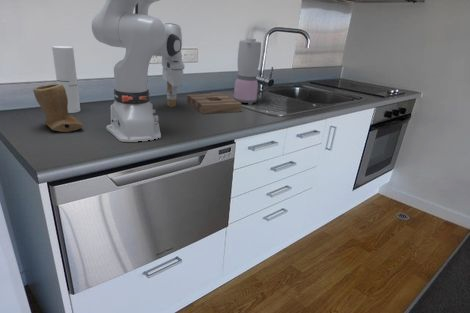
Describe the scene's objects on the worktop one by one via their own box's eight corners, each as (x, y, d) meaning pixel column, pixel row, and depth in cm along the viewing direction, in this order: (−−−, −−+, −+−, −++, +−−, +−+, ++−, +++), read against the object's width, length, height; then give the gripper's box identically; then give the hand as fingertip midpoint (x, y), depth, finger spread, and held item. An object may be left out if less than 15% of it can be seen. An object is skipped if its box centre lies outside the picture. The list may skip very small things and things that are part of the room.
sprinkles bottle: (167, 106, 148) (167, 77, 142) (166, 104, 152) (166, 75, 146) (177, 106, 149) (177, 78, 144) (175, 104, 153) (176, 76, 148)
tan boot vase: (37, 123, 114) (29, 81, 108) (72, 119, 121) (67, 79, 115) (45, 136, 103) (37, 90, 97) (84, 131, 110) (79, 88, 104)
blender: (255, 106, 163) (262, 40, 150) (232, 103, 163) (237, 38, 151) (256, 99, 177) (263, 38, 165) (235, 97, 178) (240, 36, 165)
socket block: (241, 111, 151) (241, 103, 149) (201, 113, 142) (202, 105, 140) (223, 101, 167) (223, 93, 165) (187, 102, 158) (187, 94, 156)
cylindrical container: (61, 108, 132) (52, 45, 122) (80, 108, 135) (73, 46, 125) (60, 113, 126) (51, 47, 116) (80, 112, 129) (73, 48, 119)
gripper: (158, 59, 150) (159, 88, 155) (171, 65, 133) (171, 98, 139) (171, 59, 152) (171, 88, 158) (185, 65, 136) (185, 97, 141)
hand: (171, 92), depth 148 cm, fingers closed on sprinkles bottle, 4 cm apart
